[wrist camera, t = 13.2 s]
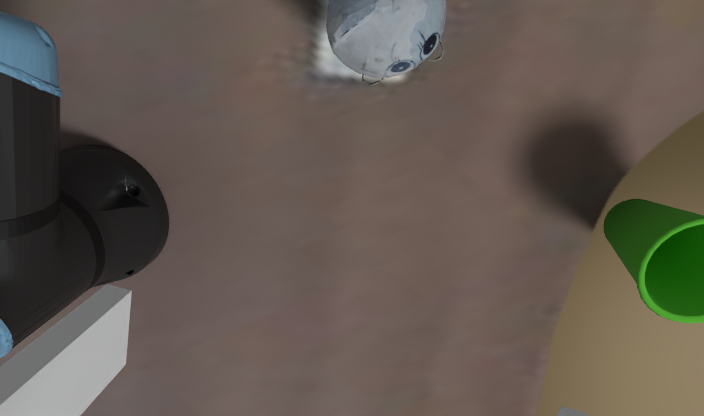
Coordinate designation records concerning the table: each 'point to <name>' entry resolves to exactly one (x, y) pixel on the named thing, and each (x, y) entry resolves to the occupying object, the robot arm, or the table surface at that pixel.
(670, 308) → the cup
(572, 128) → the table surface
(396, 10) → the figurine
